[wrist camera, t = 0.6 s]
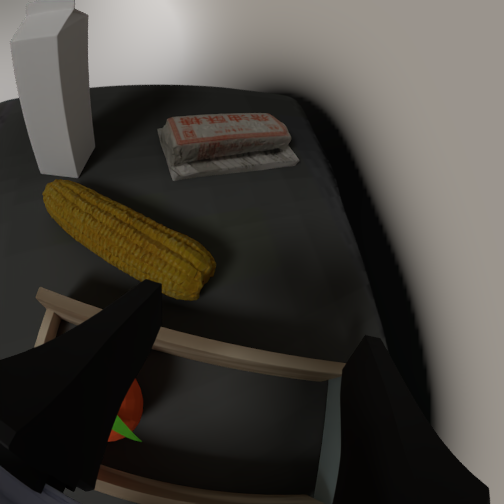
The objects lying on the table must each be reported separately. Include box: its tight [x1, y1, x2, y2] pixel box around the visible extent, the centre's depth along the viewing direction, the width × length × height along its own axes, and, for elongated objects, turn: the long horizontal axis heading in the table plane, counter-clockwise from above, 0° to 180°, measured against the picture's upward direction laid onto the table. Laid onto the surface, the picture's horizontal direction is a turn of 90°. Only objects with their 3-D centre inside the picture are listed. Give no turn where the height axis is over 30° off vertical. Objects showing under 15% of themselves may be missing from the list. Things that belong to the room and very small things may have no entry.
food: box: [43, 179, 216, 301], centre depth 26 cm, size 21×6×6 cm, turn 68°
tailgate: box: [314, 376, 342, 504], centre depth 21 cm, size 14×1×6 cm, turn 172°
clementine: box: [108, 378, 143, 442], centre depth 18 cm, size 8×7×7 cm
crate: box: [34, 287, 346, 504], centre depth 20 cm, size 14×26×5 cm, turn 82°
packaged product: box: [157, 113, 299, 181], centre depth 38 cm, size 18×5×10 cm
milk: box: [10, 0, 95, 178], centre depth 23 cm, size 6×6×22 cm
